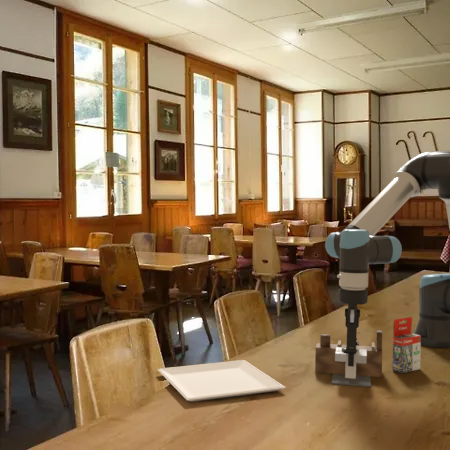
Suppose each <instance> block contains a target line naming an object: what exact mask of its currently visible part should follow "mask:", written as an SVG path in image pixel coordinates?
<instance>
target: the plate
mask: <svg viewBox="0 0 450 450" xmlns="http://www.w3.org/2000/svg"><path fill="white" fill-rule="evenodd" d="M157 371H158V372H159V373H160V374H161V376H162V377H163V378H165V379H166V381H168V383H170V385H171V386H172V387H173V388H174V389H175V390H177V393H179V394H180V396H182V397H183V398H184V399H185V400H186V401H187V402H201V401H209V400H216V399H225V398H232V397H240V396H241V397H242V396H248V395H257V394H262V393H263V394H264V393H272V392H277V391H280V390H284V389H286V386H284V385H283V384H281V383H280V382H278V381H277V380H275V379H274V378H273V377H271V376H269V375H268V374H267V373H265V372H263V371H262V370H260V369H258V367H256V366H254V365H252V364H251V363H249V362H248V361H247V360H245V359H237V360H230V361H220V362H209V363H200V364H192V365H191V364H190V365H189V364H188V365H183V366H182V365H181V366H173V367H171V366H169V367H163V368H161V367H160V368H157Z"/></svg>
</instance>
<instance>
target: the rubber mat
mask: <svg viewBox="0 0 450 450" xmlns="http://www.w3.org/2000/svg"><path fill="white" fill-rule="evenodd" d="M371 377H372V376H360V375H356V379H353V378H345V374H333V373H332V377H331V385H337V386H338V385H340V386H350V387H352V386H354V387H365V388H366V387H367V388H372V381H371Z"/></svg>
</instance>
